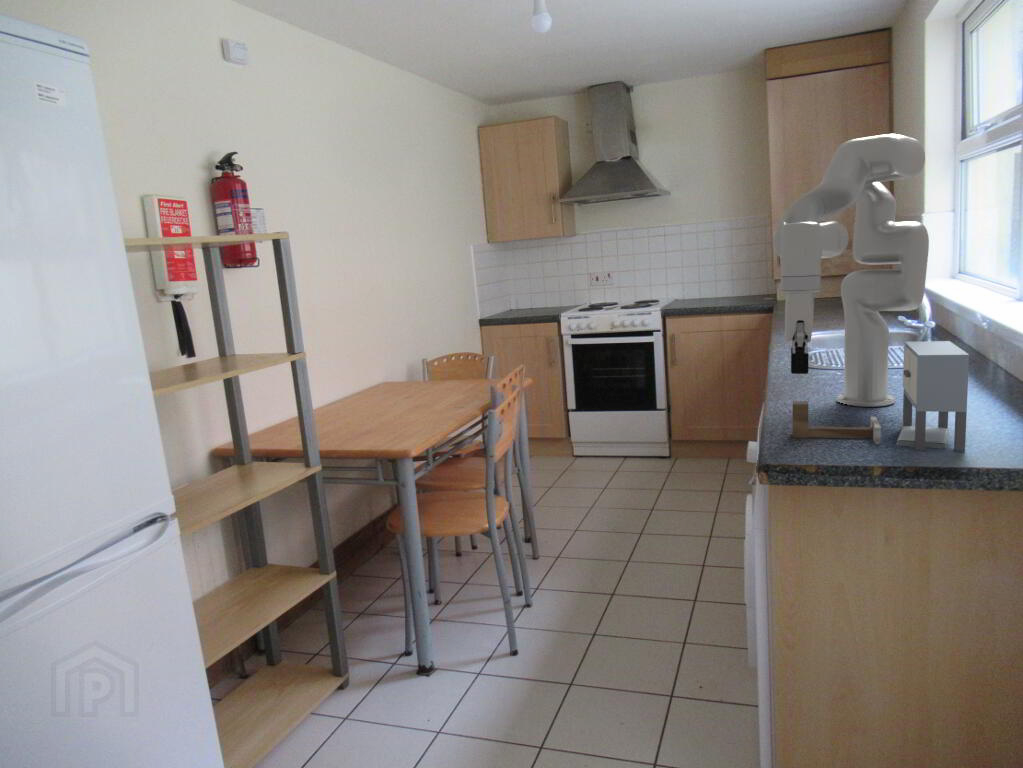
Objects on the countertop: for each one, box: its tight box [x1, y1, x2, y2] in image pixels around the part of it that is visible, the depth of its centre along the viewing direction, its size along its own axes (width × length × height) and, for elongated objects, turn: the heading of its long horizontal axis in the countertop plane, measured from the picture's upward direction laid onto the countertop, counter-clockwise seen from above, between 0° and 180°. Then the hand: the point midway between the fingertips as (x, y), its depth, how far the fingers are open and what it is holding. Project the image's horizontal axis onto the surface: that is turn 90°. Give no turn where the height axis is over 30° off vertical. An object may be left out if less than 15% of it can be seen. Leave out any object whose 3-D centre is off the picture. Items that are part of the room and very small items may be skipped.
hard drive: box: [896, 425, 949, 449], centre depth 147 cm, size 2×8×12 cm
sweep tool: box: [792, 400, 882, 445], centre depth 152 cm, size 10×16×7 cm, turn 70°
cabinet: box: [902, 340, 970, 453], centre depth 145 cm, size 18×9×18 cm, turn 160°
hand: (799, 369), depth 152 cm, fingers open, 9 cm apart
